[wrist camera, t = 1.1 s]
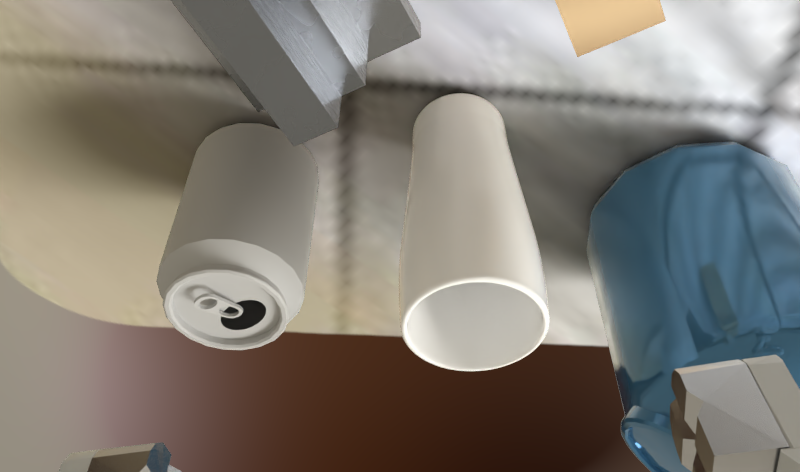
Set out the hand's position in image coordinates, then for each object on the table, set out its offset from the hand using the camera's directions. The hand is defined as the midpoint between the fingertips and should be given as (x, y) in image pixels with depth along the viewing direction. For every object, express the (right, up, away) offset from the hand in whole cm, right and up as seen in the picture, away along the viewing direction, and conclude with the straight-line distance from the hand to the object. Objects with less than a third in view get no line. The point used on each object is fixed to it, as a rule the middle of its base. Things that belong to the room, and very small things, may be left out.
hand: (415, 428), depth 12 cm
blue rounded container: (+18, +5, +37) cm, 42 cm away
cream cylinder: (+3, +10, +32) cm, 34 cm away
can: (-9, +8, +34) cm, 36 cm away
